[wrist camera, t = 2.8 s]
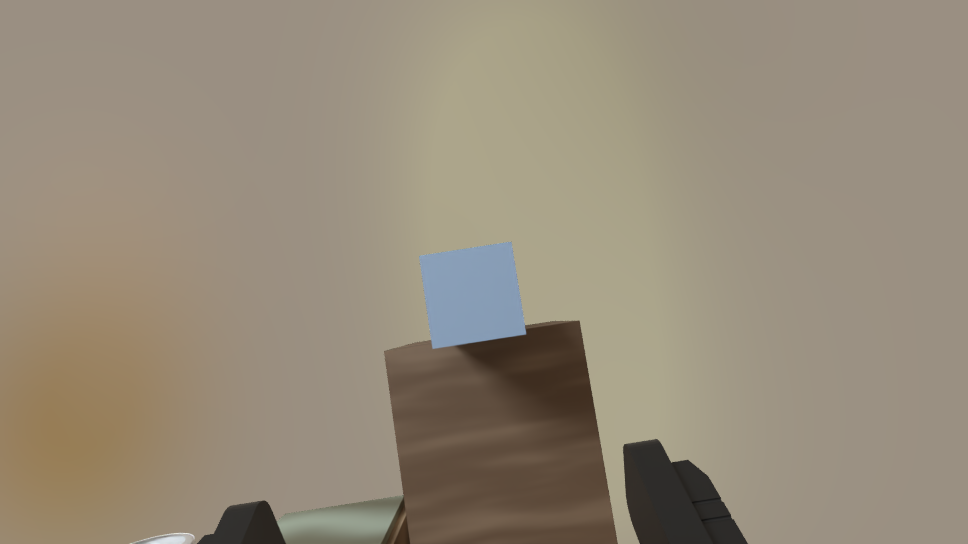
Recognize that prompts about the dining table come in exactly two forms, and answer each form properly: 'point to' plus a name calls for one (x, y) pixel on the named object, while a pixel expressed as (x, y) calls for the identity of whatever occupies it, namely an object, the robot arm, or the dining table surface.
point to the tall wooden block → (349, 524)
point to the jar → (169, 539)
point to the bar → (472, 295)
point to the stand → (500, 440)
